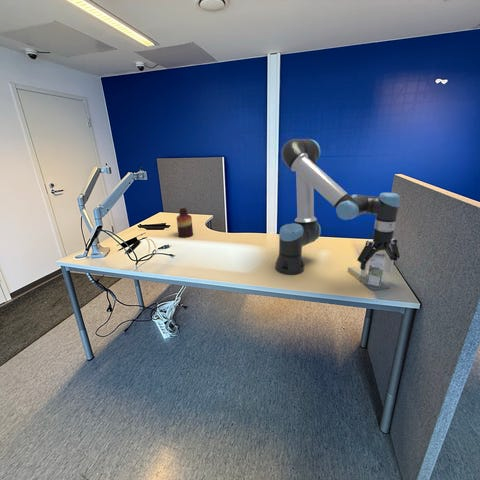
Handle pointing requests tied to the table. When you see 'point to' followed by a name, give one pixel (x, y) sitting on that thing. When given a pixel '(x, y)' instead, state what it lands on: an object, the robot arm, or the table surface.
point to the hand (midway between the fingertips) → (375, 273)
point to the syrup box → (376, 269)
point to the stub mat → (382, 286)
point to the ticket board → (357, 272)
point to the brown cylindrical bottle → (184, 224)
